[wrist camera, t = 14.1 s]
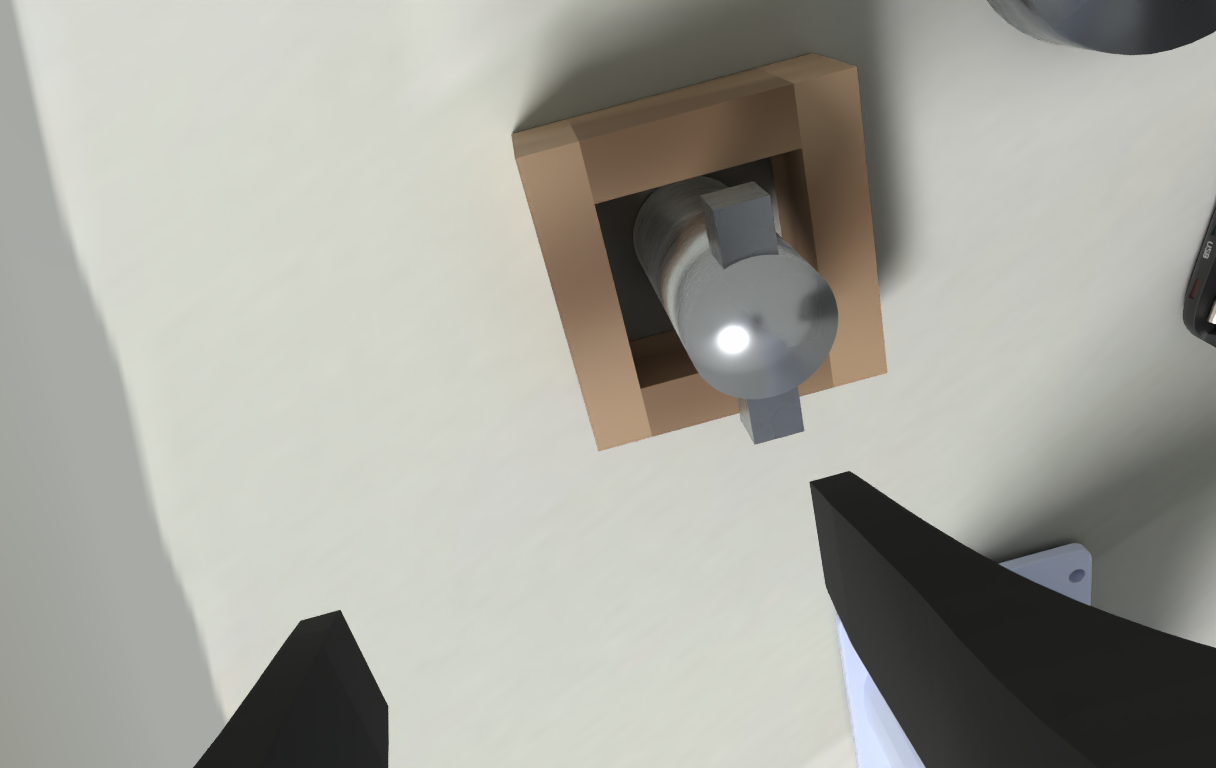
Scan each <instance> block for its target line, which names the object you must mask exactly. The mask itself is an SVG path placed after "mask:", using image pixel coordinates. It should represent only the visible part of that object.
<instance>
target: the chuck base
mask: <svg viewBox="0 0 1216 768" xmlns="http://www.w3.org/2000/svg"><path fill="white" fill-rule="evenodd" d="M987 1H988V2H989V3H990V5H991V6H992V7H993V9H994V10H995V11H996V12H997V13H998V14H999V15H1000V16H1002V17H1003V18H1004V19H1005V20H1006V21H1007V22H1008V23H1009V24H1011V25H1012V26H1014V27H1015V28H1017V29H1018V30H1020V31H1021V32H1023V33H1025V34H1027V35H1029V36H1032V37H1034V38H1036V39H1038V40H1042V41H1046V42H1049V43H1053V44H1058V45H1064V46H1070V47H1076V48H1082V49H1088V50H1094V51H1100V52H1106V53H1113V54H1123V55H1142V54H1153V53H1158V52H1163V51H1168V50H1172V49H1175V48H1178V47H1181V46H1184V45H1187V44H1190V43H1193V42H1195V41H1197V40H1199V39H1201V38H1203V37H1205V36H1207V35H1209V34H1211V33H1213V32H1215V31H1216V0H987Z"/></svg>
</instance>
